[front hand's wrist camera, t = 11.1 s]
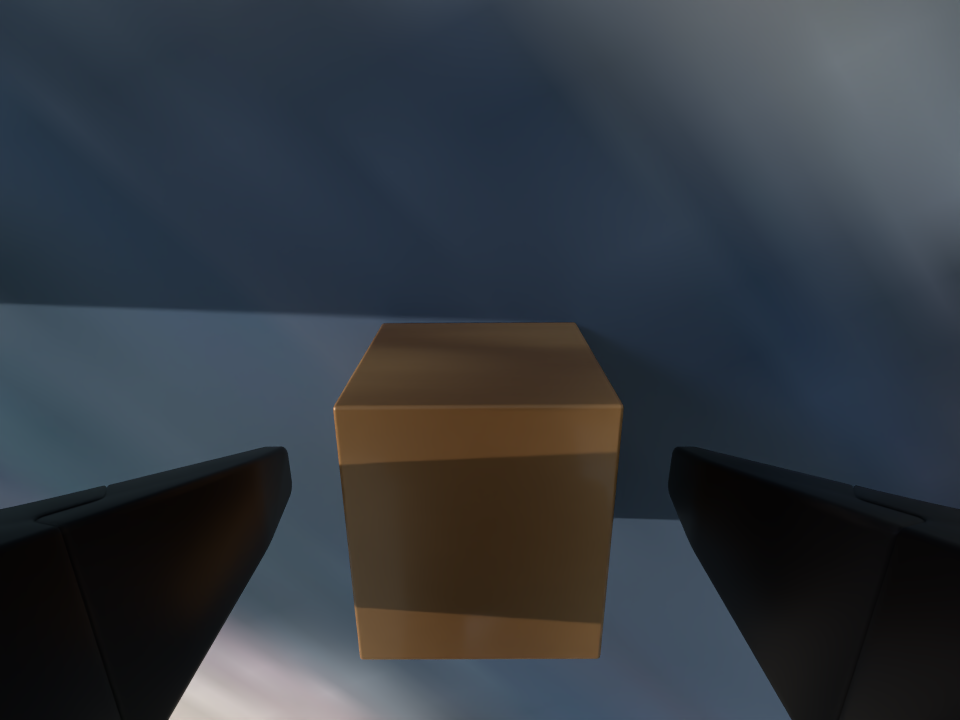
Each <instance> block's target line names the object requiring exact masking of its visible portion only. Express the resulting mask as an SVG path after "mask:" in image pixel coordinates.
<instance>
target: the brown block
mask: <svg viewBox="0 0 960 720" xmlns="http://www.w3.org/2000/svg"><path fill="white" fill-rule="evenodd" d="M623 410H624V407H623V404H622V402H621V401H620V399H619V397H618V395H617V394H616V392H615V390H614V389H613V387H612V385H611V383H610V382H609V380H608V378H607V377H606V375H605V373H604V371H603V370H602V368H601V366H600V364H599V363H598V361H597V359H596V358H595V356H594V354H593V352H592V351H591V349H590V347H589V345H588V344H587V342H586V340H585V339H584V337H583V335H582V333H581V332H580V330H579V328H578V327H577V325H576V323H384V324H382V326H381V327H380V329H379V331H378V332H377V334H376V336H375V338H374V339H373V341H372V343H371V344H370V346H369V348H368V349H367V351H366V353H365V354H364V356H363V358H362V360H361V361H360V363H359V365H358V366H357V368H356V370H355V371H354V373H353V375H352V376H351V378H350V380H349V382H348V383H347V385H346V387H345V388H344V390H343V392H342V393H341V395H340V397H339V398H338V400H337V402H336V404H335V405H334V408H333V411H334V421H335V430H336V439H337V448H338V458H339V467H340V476H341V485H342V494H343V504H344V513H345V522H346V531H347V541H348V550H349V559H350V568H351V578H352V587H353V596H354V605H355V615H356V624H357V633H358V642H359V651H360V658H361V659H598V658H599V657H600V652H601V642H602V631H603V621H604V610H605V600H606V589H607V578H608V568H609V557H610V547H611V536H612V526H613V515H614V505H615V494H616V484H617V473H618V463H619V452H620V442H621V431H622V421H623Z"/></svg>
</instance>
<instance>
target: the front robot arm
mask: <svg viewBox="0 0 960 720" xmlns="http://www.w3.org/2000/svg"><path fill="white" fill-rule="evenodd" d="M291 489H292V480H291V473H290V465H289V458H288V453H287V450H286V449H285V448H284V447H263V448H259V449H255V450H251V451H247V452H242V453H238V454H234V455H230V456H226V457H222V458H218V459H214V460H210V461H206V462H201V463H197V464H193V465H189V466H185V467H181V468H177V469H173V470H169V471H165V472H161V473H156V474H152V475H148V476H144V477H140V478H136V479H132V480H128V481H124V482H120V483H116V484H111V485H109V486H108V487H107V488H106V486H100V487H96V488H92V489H88V490H84V491H79V492H75V493H71V494H67V495H62V496H58V497H54V498H50V499H45V500H41V501H36V502H32V503H27V504H23V505H18V506H14V507H9V508H5V509H0V720H168V719H169V718H170V716H171V714H172V713H173V711H174V709H175V707H176V706H177V704H178V702H179V701H180V699H181V697H182V695H183V694H184V692H185V690H186V688H187V687H188V685H189V683H190V682H191V680H192V678H193V676H194V675H195V673H196V671H197V669H198V668H199V666H200V664H201V663H202V661H203V659H204V657H205V656H206V654H207V652H208V651H209V649H210V647H211V645H212V644H213V642H214V640H215V638H216V637H217V635H218V633H219V632H220V630H221V628H222V626H223V625H224V623H225V621H226V620H227V618H228V616H229V614H230V613H231V611H232V609H233V607H234V606H235V604H236V602H237V601H238V599H239V597H240V595H241V594H242V592H243V590H244V589H245V587H246V585H247V583H248V582H249V580H250V578H251V576H252V575H253V573H254V571H255V570H256V568H257V566H258V564H259V563H260V561H261V559H262V558H263V556H264V554H265V552H266V550H267V548H268V547H269V545H270V542H271V540H272V538H273V536H274V533H275V531H276V528H277V526H278V524H279V521H280V519H281V516H282V514H283V512H284V509H285V507H286V504H287V502H288V499H289V497H290V494H291ZM668 489H669V494H670V497H671V499H672V502H673V504H674V507H675V509H676V511H677V514H678V516H679V519H680V521H681V524H682V526H683V528H684V531H685V533H686V536H687V538H688V540H689V542H690V545H691V547H692V548H693V550H694V552H695V554H696V556H697V557H698V559H699V561H700V563H701V564H702V566H703V568H704V569H705V571H706V573H707V575H708V576H709V578H710V580H711V582H712V583H713V585H714V587H715V588H716V590H717V592H718V594H719V595H720V597H721V599H722V600H723V602H724V604H725V606H726V607H727V609H728V611H729V613H730V614H731V616H732V618H733V619H734V621H735V623H736V625H737V626H738V628H739V630H740V632H741V633H742V635H743V637H744V638H745V640H746V642H747V644H748V645H749V647H750V649H751V650H752V652H753V654H754V656H755V657H756V659H757V661H758V663H759V664H760V666H761V668H762V669H763V671H764V673H765V675H766V676H767V678H768V680H769V681H770V683H771V685H772V687H773V688H774V690H775V692H776V694H777V695H778V697H779V699H780V700H781V702H782V704H783V706H784V707H785V709H786V711H787V712H788V714H789V716H790V718H791V719H792V720H960V509H956V508H951V507H946V506H942V505H937V504H933V503H928V502H924V501H919V500H915V499H911V498H906V497H902V496H898V495H893V494H889V493H885V492H881V491H876V490H872V489H868V488H864V487H860V486H854V488H853V486H852V485H849V484H845V483H841V482H836V481H832V480H828V479H824V478H820V477H816V476H812V475H808V474H804V473H800V472H795V471H791V470H787V469H783V468H779V467H775V466H771V465H767V464H763V463H759V462H755V461H750V460H746V459H742V458H738V457H734V456H730V455H726V454H722V453H718V452H714V451H709V450H705V449H701V448H697V447H676V448H675V449H674V450H673V453H672V459H671V466H670V473H669V480H668Z"/></svg>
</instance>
